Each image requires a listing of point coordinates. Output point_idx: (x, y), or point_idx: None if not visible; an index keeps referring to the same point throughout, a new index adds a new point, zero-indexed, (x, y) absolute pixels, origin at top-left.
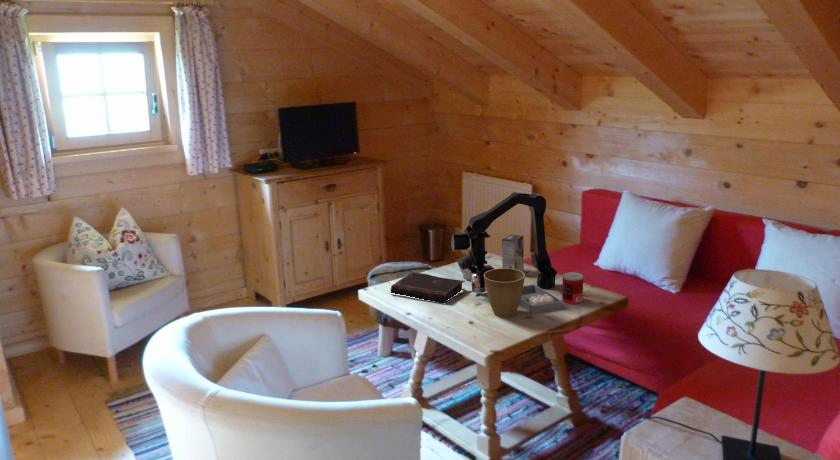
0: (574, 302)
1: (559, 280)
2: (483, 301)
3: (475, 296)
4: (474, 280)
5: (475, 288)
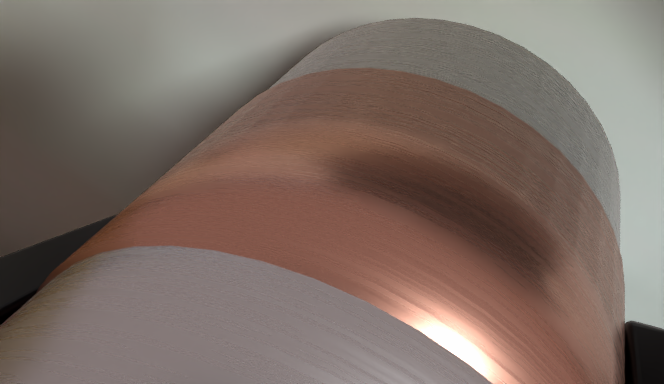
0: None
1: None
2: (90, 7)
3: (390, 19)
4: (101, 250)
5: (261, 93)
